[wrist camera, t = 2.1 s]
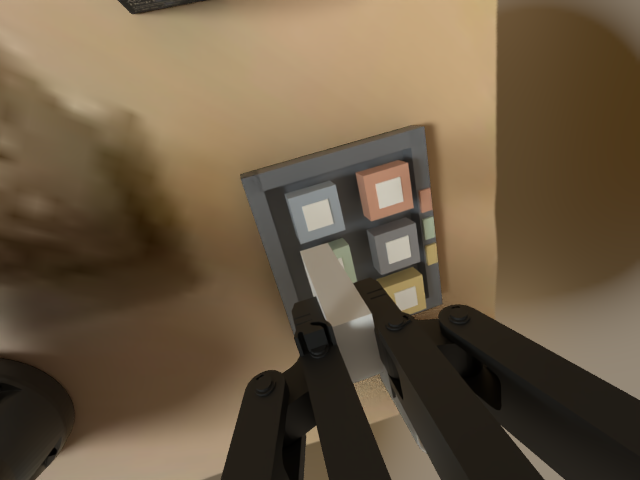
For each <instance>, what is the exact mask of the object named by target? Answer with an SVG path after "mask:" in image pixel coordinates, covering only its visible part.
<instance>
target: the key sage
mask: <svg viewBox="0 0 640 480" xmlns="http://www.w3.org/2000/svg"><path fill="white" fill-rule="evenodd" d="M328 244H329V246H330V247H331V249H332V251H333V252H334V254H335V256H336V257H337V259H338V260H339V262H340V264H341V265H342V267H343V268H344V270H345V272H346V273H347V275H348V276H349V278H350V280H351V281H352V283H355V282H357V279H356V274H355V270H354V265H353V261H352V256H351V252H350V247H349V244H348V243H347V242H346V241H345V240H344V239H343V238H340V239H337V240H334V241H331V242H328Z"/></svg>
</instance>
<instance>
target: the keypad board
mask: <svg viewBox="0 0 640 480" xmlns="http://www.w3.org/2000/svg"><path fill="white" fill-rule="evenodd" d="M396 160H400V161H403V162H407V163H408V167H409V174H410V182H411V190H412V198H413V206H414V208H412V209H408V210H405V211H402V212H399V213H396V214H393V215H390V216H387V217H384V218H381V219H377V220H374V221H370V220H369V219H368V218H366V217H365V216H364V214H363V209H362V204H361V199H360V193H359V188H358V183H357V178H356V172H360V171H363V170H366V169H370V168H373V167H376V166H380V165H383V164H386V163H390V162H393V161H396ZM240 176H241V181H242V184H243V187H244V190H245V193H246V196H247V199H248V201H249V204H250V207H251V210H252V213H253V216H254V219H255V222H256V225H257V228H258V231H259V234H260V237H261V240H262V243H263V246H264V249H265V251H266V254H267V257H268V260H269V263H270V266H271V269H272V272H273V275H274V278H275V281H276V284H277V287H278V290H279V293H280V296H281V298H282V301H283V304H284V307H285V310H286V313H287V316H288V319H289V322H290V325H291V328H292V331H293V334H294V335H295V332H296V329H295V324H294V320H293V316H292V309H293V306H294V303H297V302H300V301H303V300H306V299H309V298H312V297H314V296H313V293H312V290H311V287H310V283H309V280H308V277H307V273H306V270H305V267H304V263H303V260H302V257H301V253H300V251H303V250H306V249H309V248H312V247H315V246H318V245H322V244H325V243H328V242H331V241H334V240H337V239H340V238H343V239H344V240H345V241H346V242H347V243H348V244H349V247H350V252H351V256H352V261H353V265H354V270H355V274H356V279H357V282H358V281H361V280H364V279H367V278H372V279H374V280H376V279H379V278H382V277H385V276H388V275H391V274H393V273H396V272H399V271H402V270H405V269H408V268H411V267H414V268H415V269H416V270H417V271H418V272H420V273H421V274H422V277H423V285H424V292H425V300H426V309H424V310H421V311H418V312H415V313H413V314H410V315H414V314H417V313H419V312H422V311H425V310H428V309H430V308H433V307H436V306H438V305H441V304H442V294H441V284H440V274H439V265H438V255H437V245H436V235H435V226H434V216H433V206H432V196H431V186H430V177H429V167H428V157H427V147H426V138H425V128H424V126H413V125H411V126H407V127H404V128H400V129H397V130H393V131H390V132H386V133H383V134H379V135H376V136H372V137H369V138H365V139H362V140H358V141H355V142H351V143H348V144H344V145H341V146H337V147H334V148H330V149H327V150H323V151H320V152H316V153H313V154H309V155H306V156H302V157H299V158H295V159H292V160H289V161H285V162H282V163H278V164H275V165H271V166H268V167H264V168H261V169H257V170H254V171H250V172H247V173H243V174H240ZM326 181H331V182H332V183H334V184H335V185H336V189H337V193H338V198H339V202H340V207H341V211H342V216H343V220H344V225H345V229H346V230H343V231H340V232H337V233H334V234H331V235H328V236H325V237H322V238H319V239H315V240H312V241H309V242H306V243H303V244H300V242H299V240H298V238H297V236H296V232H295V229H294V225H293V222H292V218H291V215H290V212H289V208H288V205H287V201H286V198H285V194H286V193H290V192H293V191H296V190H300V189H303V188H306V187H310V186H313V185H316V184H320V183H323V182H326ZM405 217H407V218H408V219H410V220H412V221H413V222H415V223H416V229H417V237H418V245H419V253H420V261H421V262H418V263H415V264H412V265H409V266H407V267H404V268H401V269H398V270H395V271H392V272H389V273H386V274H384V275H381V274H380V273H379V272H378V271H377V270H376V269H375V268H374V266H373V260H372V255H371V250H370V245H369V240H368V235H367V230H368V229H371V228H374V227H377V226H380V225H383V224H386V223H389V222H392V221H395V220H399V219H402V218H405Z"/></svg>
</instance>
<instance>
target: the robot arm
mask: <svg viewBox="0 0 640 480" xmlns="http://www.w3.org/2000/svg"><path fill="white" fill-rule="evenodd" d="M300 253H301V257H302V260H303V263H304V267H305V270H306V273H307V277H308V280H309V283H310V287H311V290H312V293H313V296H314V297H312V298H309V299H306V300H303V301H300V302H297V303H294V306H293V309H292V316H293V320H294V324H295V329H296V332H295V335H294V339H295V342H296V345H297V348H298V351H299V354H300V356H299V358H298V360H297V362H296V363H295V364H294V365H293V366H292V367H291V368H289V369H288V370H287V371H285V372H284V373H281V372H278V371H276V370H268V371H265V372H262V373H260V374H258V375H257V376H255V377H254V378H253V379H252V380H251V381H250V382H249V383H248V385H247V387H246V389H245V393H244V396H243V400H242V404H241V407H240V411H239V415H238V418H237V422H236V426H235V429H234V433H233V437H232V440H231V444H230V448H229V451H228V455H227V459H226V462H225V466H224V470H223V473H222V477H221V480H303V478H304V462H305V447H306V433H307V432H308V431H309V430H311V429H312V428H313V427H315V426H316V425H317V430H318V434H319V438H320V442H321V447H322V451H323V455H324V460H325V464H326V468H327V473H328V477H329V480H391V478H390V475H389V473H388V470H387V468H386V465H385V463H384V460H383V458H382V455H381V453H380V450H379V448H378V445H377V443H376V440H375V438H374V435H373V433H372V430H371V428H370V425H369V423H368V420H367V418H366V415H365V413H364V410H363V408H362V405H361V403H360V400H359V398H358V395H357V393H356V390H355V388H354V385H353V383H356V382H359V381H361V380H364V379H367V378H370V377H372V376H375V375H378V374H381V373H383V372H384V368H383V365H384V366H385V368H386V370H387V372H388V377H389V382H390V386H391V391H392V395H393V398H395V397H396V395H397V397H398V399H399V401H400V403H401V405H402V407H403V409H404V411H405V412H406V414H407V416H408V418H409V420H410V422H411V424H412V426H413V428H414V430H415V431H416V433H417V435H418V437H419V439H420V441H421V443H422V445H423V447H424V448H425V450H426V452H427V454H428V456H429V458H430V460H431V462H432V464H433V465H434V467H435V469H436V471H437V473H438V475H439V477H440V479H441V480H544V479H543V477H542V476H541V475H540V474H539V473H538V471H537V470H536V469H535V468H534V466H533V465H532V464H531V463H530V461H529V460H528V459H527V458H526V456H525V455H524V454H523V453H522V451H521V450H520V449H519V448H518V447H517V445H516V444H515V443H514V442H513V440H512V439H511V438H510V437H509V435H508V434H507V433H506V432H505V430H504V429H503V428H502V427H504V428H505V429H506V430H507V431H508V432H510V433H511V434H512V435H513V436H514V437H515V438H517V439H518V440H519V441H520V442H522V443H523V444H524V445H525V446H526V447H527V448H528V449H530V450H531V451H532V452H533V453H534V454H535V455H537V456H538V457H539V458H540V459H541V460H543V461H544V462H545V463H546V464H547V465H548V466H550V467H551V468H552V469H553V470H554V471H556V472H557V473H558V474H559V475H560V476H561V477H563V478H564V479H565V480H640V400H638V399H637V398H635V397H633V396H631V395H629V394H628V393H626V392H624V391H622V390H620V389H619V388H617V387H615V386H613V385H611V384H609V383H608V382H606V381H604V380H602V379H601V378H598V377H597V376H595V375H593V374H591V373H590V372H588V371H586V370H584V369H582V368H581V367H579V366H577V365H575V364H573V363H571V362H570V361H568V360H566V359H564V358H562V357H561V356H559V355H557V354H555V353H554V352H552V351H550V350H548V349H546V348H544V347H543V346H541V345H539V344H537V343H535V342H534V341H532V340H530V339H528V338H526V337H524V336H523V335H521V334H519V333H517V332H516V331H514V330H512V329H510V328H508V327H507V326H505V325H503V324H501V323H499V322H497V321H496V320H494V319H492V318H490V317H488V316H487V315H485V314H483V313H481V312H479V311H478V310H476V309H474V308H472V307H469V306H466V305H450V306H448V307H445V308H444V309H442V310H441V311H440V313H439V316H438V318H439V319H431V320H416V319H414V317H412V316H411V315H410V314H408V313H405V312H402V311H401V310H400V309H399V308H398V306H397V305H396V304H395V302H394V301H393V300H392V299H391V297H390V296H389V295H388V294H387V292H386V291H385V290H384V289H383V287H382V286H381V284H380V283H379V282H378V281H376V280H374V279H372V278H367V279H364V280H361V281H358V282H355V283H352V281H351V280H350V278H349V276H348V275H347V273H346V272H345V270H344V268H343V267H342V265H341V264H340V262H339V260H338V259H337V257H336V256H335V254H334V252H333V251H332V249H331V247H330V246H329V244H328V243H325V244H322V245H318V246H315V247H312V248H309V249H306V250H303V251H300ZM73 423H74V408H73V404H72V401H71V399H70V397H69V395H68V394H67V392H66V391H65V390H64V388H63V387H62V386H61V385H60V384H59V383H58V382H57V381H55V380H54V379H53V378H51V377H50V376H49V375H47V374H45V373H44V372H42V371H40V370H38V369H36V368H34V367H31V366H29V365H26V364H23V363H20V362H16V361H12V360H7V359H1V358H0V480H35V479H36V478H37V477H38V476H39V475H40V474H41V473H42V472H43V471H44V470H45V469H46V468H47V467H48V466H49V465H50V464H51V463H52V461H53V460H54V459H55V458H56V457H57V455H58V454H59V452H60V451H61V449H62V448H63V446H64V444H65V442H66V440H67V438H68V436H69V434H70V432H71V430H72V427H73ZM501 426H502V427H501Z"/></svg>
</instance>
